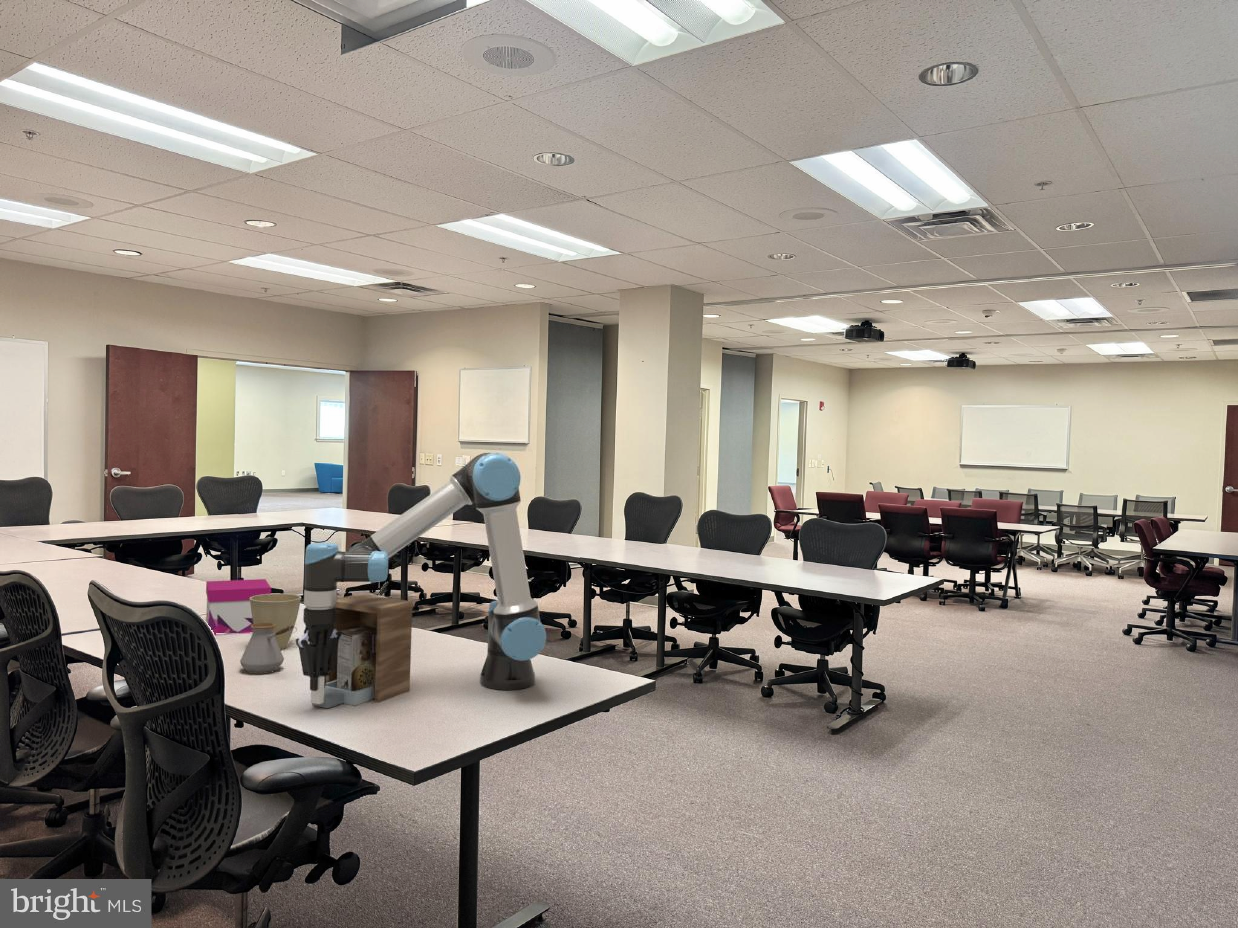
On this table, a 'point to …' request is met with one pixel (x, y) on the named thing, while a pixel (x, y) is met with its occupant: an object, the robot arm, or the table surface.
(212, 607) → the decorative box
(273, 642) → the coffee pot
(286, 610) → the plant pot
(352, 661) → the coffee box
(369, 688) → the tray
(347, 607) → the wooden cubby shelf
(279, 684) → the table surface
